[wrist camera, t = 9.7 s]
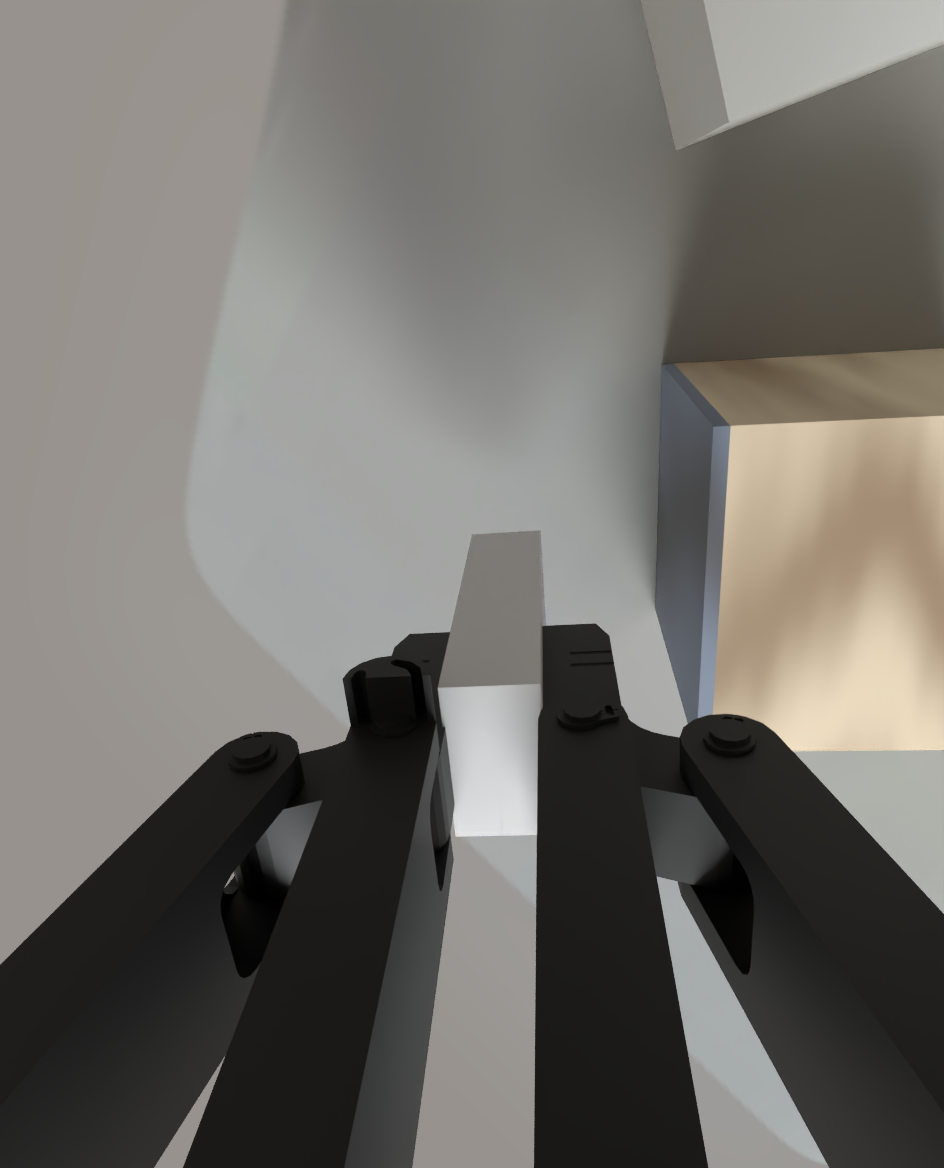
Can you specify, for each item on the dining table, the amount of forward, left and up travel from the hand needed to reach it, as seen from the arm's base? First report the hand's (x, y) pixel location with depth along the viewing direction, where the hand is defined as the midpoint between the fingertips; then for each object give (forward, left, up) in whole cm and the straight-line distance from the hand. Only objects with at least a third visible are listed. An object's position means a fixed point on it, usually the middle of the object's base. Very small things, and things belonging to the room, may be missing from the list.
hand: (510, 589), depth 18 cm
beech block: (0, +4, -2) cm, 4 cm away
